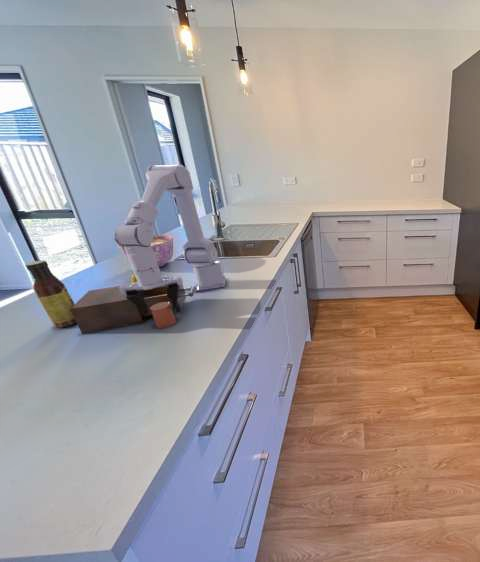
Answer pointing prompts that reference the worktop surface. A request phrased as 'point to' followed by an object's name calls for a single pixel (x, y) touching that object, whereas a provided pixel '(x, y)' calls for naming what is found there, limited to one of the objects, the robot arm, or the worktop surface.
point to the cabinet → (105, 310)
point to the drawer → (165, 297)
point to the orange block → (163, 314)
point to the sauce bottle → (52, 294)
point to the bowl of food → (159, 249)
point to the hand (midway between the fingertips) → (161, 310)
